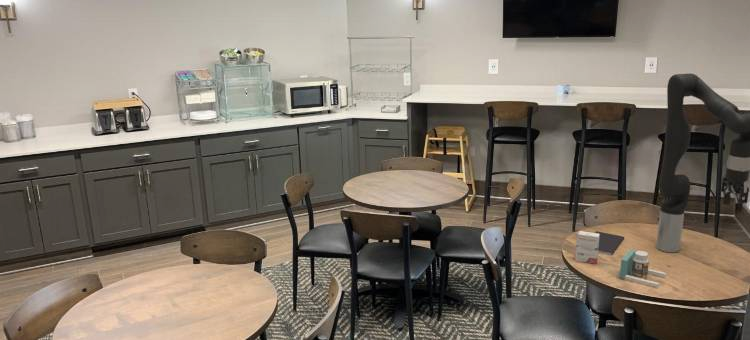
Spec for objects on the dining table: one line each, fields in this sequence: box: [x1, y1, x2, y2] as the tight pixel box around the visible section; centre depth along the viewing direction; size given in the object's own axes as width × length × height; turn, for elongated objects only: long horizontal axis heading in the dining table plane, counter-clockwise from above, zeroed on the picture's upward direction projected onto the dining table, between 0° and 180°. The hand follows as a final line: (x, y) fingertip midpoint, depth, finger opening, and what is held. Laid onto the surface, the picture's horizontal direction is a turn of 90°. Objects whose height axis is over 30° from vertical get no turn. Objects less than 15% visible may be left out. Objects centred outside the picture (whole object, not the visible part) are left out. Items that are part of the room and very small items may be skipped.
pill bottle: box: [631, 250, 650, 280], centre depth 233 cm, size 6×6×10 cm
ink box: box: [574, 230, 600, 265], centre depth 248 cm, size 9×5×12 cm, turn 65°
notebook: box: [593, 231, 625, 256], centre depth 265 cm, size 13×2×21 cm
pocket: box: [619, 248, 667, 289], centre depth 232 cm, size 14×12×8 cm
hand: (731, 208), depth 226 cm, fingers open, 8 cm apart
